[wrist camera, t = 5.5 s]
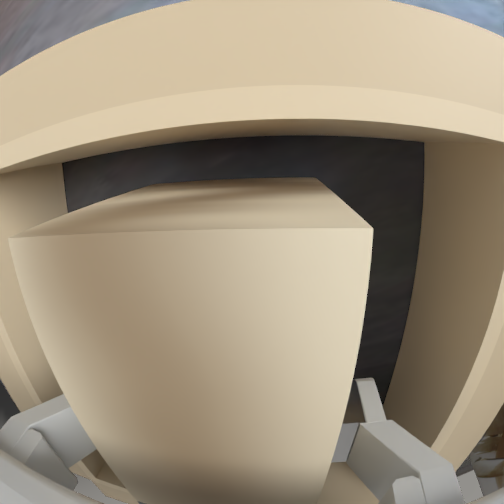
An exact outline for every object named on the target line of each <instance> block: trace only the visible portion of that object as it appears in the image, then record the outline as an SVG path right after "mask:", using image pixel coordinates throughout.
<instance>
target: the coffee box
mask: <svg viewBox="0 0 504 504" xmlns="http://www.w3.org/2000/svg"><path fill="white" fill-rule="evenodd" d="M468 456H469V458H470V461H471V463H472V466H473V468H474V471H475V473H476V476H477V479H478V481H479V484H480V488H481V490H482V493H483V496H486V495H488V494H490V493H492V492H494V491H496V490H498V489H500V488H502V487H504V403H503V405H502V406H501V408H500V410H499V411H498V413H497V415H496V416H495V418H494V420H493V421H492V423H491V424H490V426H489V427H488V429H487V430H486V432H485V433H484V435H483V436H482V438H481V439H480V440H479V442H478V443H477V445H476V446H475V447H474V449H473V450H472V451H471V453H470V454H469V455H468Z"/></svg>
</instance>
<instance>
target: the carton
mask: <svg viewBox="0 0 504 504" xmlns="http://www.w3.org/2000/svg"><path fill="white" fill-rule="evenodd" d="M283 135H325V136H355V137H372V138H386V139H398V140H408V141H418V142H424V148H425V164H424V195H423V211H422V223H421V234H420V243H419V251H418V259H417V266H416V273H415V279H414V285H413V291H412V297H411V302H410V307H409V312H408V317H407V321H406V326H405V330H404V335H403V339H402V343H401V347H400V351H399V354H398V358H397V362H396V365H395V369H394V372H393V376H392V379H391V383H390V386H389V389H388V392H387V395H386V398H385V401H384V404H383V410H384V413H385V416H386V420H393V421H394V422H396V423H397V424H398V425H400V426H401V427H402V428H404V429H405V430H406V431H408V432H409V433H410V434H412V435H413V436H414V437H416V438H417V439H418V440H420V441H421V442H422V443H424V444H425V445H426V446H428V447H429V448H431V449H432V450H433V451H435V452H436V453H437V454H439V455H440V456H442V457H443V458H444V459H446V460H447V461H449V462H450V463H451V464H452V465H453V468H454V471H455V472H456V470H457V469H458V468H459V467H460V465H461V464H462V463H463V462H464V460H465V459H466V458H467V457H468V455H469V454H470V453H471V451H472V450H473V449H474V447H475V446H476V445H477V443H478V442H479V440H480V439H481V438H482V436H483V435H484V433H485V432H486V430H487V429H488V427H489V426H490V424H491V423H492V421H493V420H494V418H495V416H496V415H497V413H498V411H499V410H500V408H501V406H502V405H503V403H504V37H502V36H500V35H498V34H495V33H493V32H491V31H488V30H486V29H484V28H481V27H479V26H476V25H474V24H471V23H468V22H466V21H463V20H460V19H457V18H454V17H451V16H448V15H445V14H442V13H439V12H435V11H432V10H428V9H425V8H421V7H417V6H413V5H409V4H404V3H400V2H395V1H390V0H190V1H185V2H180V3H175V4H171V5H166V6H162V7H158V8H154V9H150V10H147V11H143V12H140V13H136V14H133V15H130V16H127V17H123V18H120V19H117V20H114V21H112V22H109V23H106V24H103V25H101V26H98V27H95V28H93V29H90V30H88V31H85V32H83V33H80V34H78V35H76V36H74V37H71V38H69V39H67V40H65V41H63V42H60V43H58V44H56V45H54V46H52V47H50V48H48V49H46V50H44V51H42V52H40V53H39V54H37V55H35V56H33V57H31V58H29V59H28V60H26V61H24V62H23V63H21V64H19V65H17V66H16V67H14V68H13V69H11V70H9V71H8V72H6V73H5V74H3V75H1V76H0V378H1V380H2V382H3V384H4V385H5V387H6V389H7V391H8V392H9V394H10V396H11V397H12V399H13V401H14V402H15V404H16V406H17V407H18V409H19V410H20V412H23V411H26V410H28V409H30V408H33V407H35V406H37V405H40V404H42V403H44V402H47V401H49V400H51V399H53V398H56V397H58V396H60V395H62V394H64V393H63V391H62V390H61V388H60V386H59V384H58V382H57V380H56V378H55V376H54V373H53V371H52V369H51V367H50V365H49V363H48V361H47V358H46V356H45V354H44V352H43V349H42V347H41V344H40V342H39V340H38V337H37V335H36V332H35V329H34V327H33V324H32V321H31V319H30V316H29V313H28V310H27V307H26V304H25V301H24V298H23V295H22V292H21V288H20V285H19V282H18V278H17V275H16V271H15V267H14V263H13V259H12V255H11V251H10V246H9V242H8V238H10V237H12V236H14V235H16V234H19V233H21V232H23V231H26V230H28V229H30V228H33V227H35V226H37V225H40V224H42V223H45V222H47V221H50V220H52V219H55V218H57V217H60V216H62V215H65V214H68V210H67V203H66V195H65V187H64V177H63V167H62V163H64V162H68V161H72V160H77V159H81V158H86V157H91V156H96V155H101V154H106V153H111V152H117V151H123V150H129V149H135V148H141V147H148V146H155V145H163V144H170V143H179V142H188V141H198V140H208V139H220V138H235V137H253V136H283ZM69 470H70V471H71V472H72V473H75V474H77V475H80V476H82V477H84V478H87V479H90V480H92V482H93V483H94V484H95V485H96V486H97V487H98V488H99V489H100V490H101V491H102V493H103V494H104V495H105V496H107V497H110V498H113V499H116V500H119V501H122V502H125V503H128V504H139V503H138V502H137V500H136V499H135V498H134V497H133V496H132V495H131V493H130V492H129V491H128V490H127V489H126V487H125V486H124V485H123V484H122V482H121V481H120V480H119V479H118V477H117V476H116V475H115V473H114V472H113V471H112V469H111V468H110V467H109V465H108V464H107V463H106V461H105V460H104V458H103V457H102V456H101V454H100V453H99V451H98V450H97V449H96V450H94V451H93V452H92V453H90V454H89V455H87V456H86V457H84V458H83V459H81V460H80V461H79V462H77V463H76V464H74V465H73V466H71V467H70V468H69ZM379 502H380V501H379V500H378V499H377V498H376V497H375V495H374V494H373V493H372V492H371V491H370V490H369V489H368V488H367V486H366V485H365V484H364V483H363V482H362V481H361V480H360V478H359V477H358V476H357V475H356V474H355V473H354V471H353V470H352V469H351V468H350V467H349V466H348V464H347V463H346V462H331V464H330V467H329V471H328V474H327V477H326V480H325V483H324V485H323V488H322V491H321V494H320V497H319V499H318V502H317V504H378V503H379Z"/></svg>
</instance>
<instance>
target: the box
mask: <svg viewBox="0 0 504 504" xmlns="http://www.w3.org/2000/svg"><path fill="white" fill-rule="evenodd" d="M8 242H9V246H10V251H11V255H12V259H13V263H14V267H15V271H16V275H17V278H18V282H19V285H20V288H21V292H22V295H23V298H24V301H25V304H26V307H27V310H28V313H29V316H30V319H31V321H32V324H33V327H34V329H35V332H36V335H37V337H38V340H39V342H40V344H41V347H42V349H43V352H44V354H45V356H46V358H47V361H48V363H49V365H50V367H51V369H52V371H53V373H54V376H55V378H56V380H57V382H58V384H59V386H60V388H61V390H62V391H63V393H64V395H65V397H66V399H67V401H68V403H69V404H70V406H71V408H72V410H73V412H74V413H75V415H76V417H77V418H78V420H79V422H80V423H81V425H82V427H83V428H84V430H85V432H86V433H87V435H88V436H89V438H90V439H91V441H92V442H93V444H94V445H95V447H96V448H97V450H98V451H99V453H100V454H101V456H102V457H103V458H104V460H105V461H106V463H107V464H108V465H109V467H110V468H111V469H112V471H113V472H114V473H115V475H116V476H117V477H118V479H119V480H120V481H121V482H122V484H123V485H124V486H125V487H126V489H127V490H128V491H129V492H130V493H131V495H132V496H133V497H134V498H135V499H136V500H137V502H138V503H139V504H317V502H318V499H319V497H320V494H321V491H322V488H323V485H324V483H325V480H326V477H327V474H328V471H329V467H330V464H331V461H332V458H333V455H334V451H335V448H336V444H337V441H338V437H339V434H340V430H341V427H342V423H343V419H344V415H345V411H346V407H347V403H348V399H349V394H350V390H351V385H352V381H353V376H354V371H355V366H356V361H357V356H358V351H359V345H360V339H361V333H362V327H363V321H364V314H365V307H366V300H367V292H368V284H369V275H370V265H371V254H372V242H373V228H372V227H371V226H370V225H369V224H368V223H367V222H366V221H365V220H364V219H363V218H362V217H361V216H359V215H358V214H357V213H356V212H355V211H354V210H353V209H352V208H350V207H349V206H348V205H347V204H346V203H345V202H344V201H342V200H341V199H340V198H339V197H338V196H337V195H336V194H334V193H333V192H332V191H331V190H330V189H329V188H327V187H326V186H325V185H324V184H323V183H321V182H320V181H319V180H318V179H317V178H315V177H289V178H246V179H222V180H204V181H189V182H175V183H163V184H153V185H150V186H146V187H143V188H140V189H137V190H134V191H130V192H127V193H124V194H121V195H118V196H115V197H112V198H109V199H106V200H103V201H100V202H98V203H95V204H92V205H89V206H86V207H84V208H81V209H78V210H75V211H73V212H70V213H68V214H65V215H62V216H60V217H57V218H55V219H52V220H50V221H47V222H45V223H42V224H40V225H37V226H35V227H33V228H30V229H28V230H26V231H23V232H21V233H19V234H16V235H14V236H12V237H10V238H8Z"/></svg>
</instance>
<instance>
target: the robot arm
mask: <svg viewBox="0 0 504 504" xmlns="http://www.w3.org/2000/svg"><path fill="white" fill-rule="evenodd" d="M96 449H97V448H96V447H95V445H94V444H93V442H92V441H91V439H90V438H89V436H88V435H87V433H86V432H85V430H84V428H83V427H82V425H81V423H80V422H79V420H78V418H77V417H76V415H75V413H74V412H73V410H72V408H71V406H70V404H69V403H68V401H67V399H66V397H65V395H64V394H62V395H60V396H58V397H56V398H53V399H51V400H49V401H47V402H44V403H42V404H40V405H37V406H35V407H33V408H30V409H28V410H26V411H23V412H21V413H19V414H16V415H14V416H12V417H11V418H10V419H9V420H8V421H7V422H6V424H5V425H4V426H3V427H2V429H1V430H0V504H104V503H101V502H98V501H96V500H93V499H91V498H89V497H86V496H84V495H82V494H80V493H77V492H75V491H74V489H75V487H76V485H77V483H78V480H77V477H76V476H75V475H74V474H73V473H72V472H71V471H70V470H69V468H70V467H71V466H73V465H74V464H76V463H77V462H79V461H80V460H81V459H83V458H84V457H86V456H87V455H89V454H90V453H92V452H93V451H94V450H96ZM331 462H346V463H347V464H348V466H349V467H350V468H351V469H352V470H353V471H354V473H355V474H356V475H357V476H358V477H359V478H360V480H361V481H362V482H363V483H364V484H365V485H366V486H367V488H368V489H369V490H370V491H371V492H372V493H373V494H374V495H375V497H376V498H377V499H378V500H379V501H380V502H379V503H378V504H465V501H464V498H463V495H462V492H461V489H460V485H459V483H458V480H457V476H456V473H455V471H454V468H453V465H452V464H451V463H450V462H449V461H447V460H446V459H444V458H443V457H442V456H440V455H439V454H437V453H436V452H435V451H433V450H432V449H431V448H429V447H428V446H426V445H425V444H424V443H422V442H421V441H420V440H418V439H417V438H416V437H414V436H413V435H412V434H410V433H409V432H408V431H406V430H405V429H404V428H402V427H401V426H400V425H398V424H397V423H396V422H394V421H393V420H386V416H385V413H384V410H383V406H382V403H381V400H380V397H379V393H378V390H377V387H376V384H375V381H374V379H373V378H362V379H354V380H353V381H352V385H351V390H350V394H349V399H348V403H347V407H346V411H345V415H344V419H343V423H342V427H341V430H340V434H339V437H338V441H337V444H336V448H335V451H334V455H333V458H332V461H331ZM467 504H504V487H502V488H500V489H498V490H496V491H494V492H492V493H490V494H488V495H486V496H483V497H481V498H479V499H477V500H474V501H472V502H470V503H467Z"/></svg>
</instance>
